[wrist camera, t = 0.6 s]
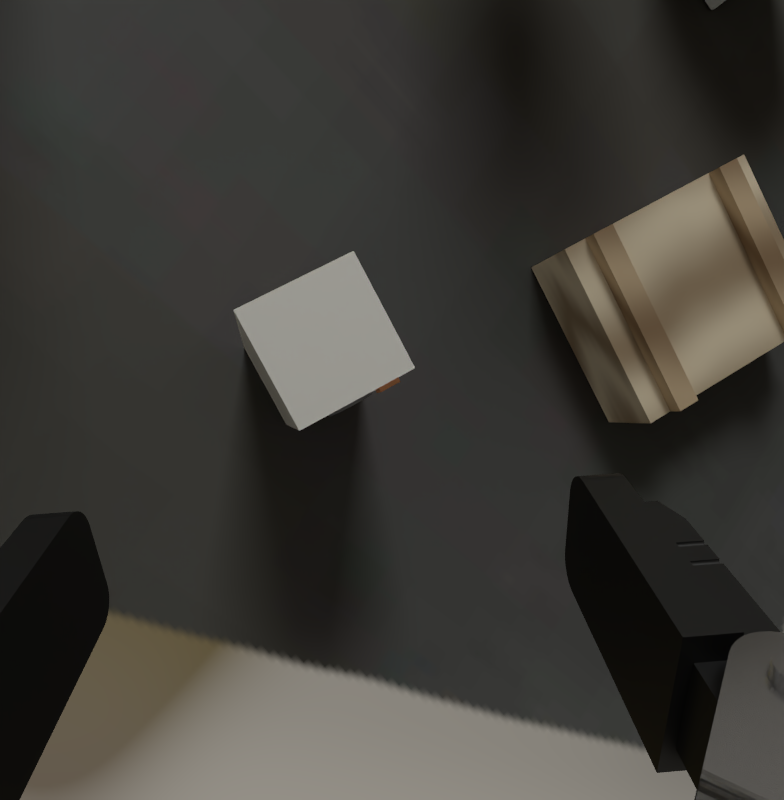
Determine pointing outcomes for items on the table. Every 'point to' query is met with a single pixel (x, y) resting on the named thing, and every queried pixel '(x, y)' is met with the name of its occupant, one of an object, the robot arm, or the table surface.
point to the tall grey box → (322, 342)
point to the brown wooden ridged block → (672, 295)
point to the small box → (714, 3)
